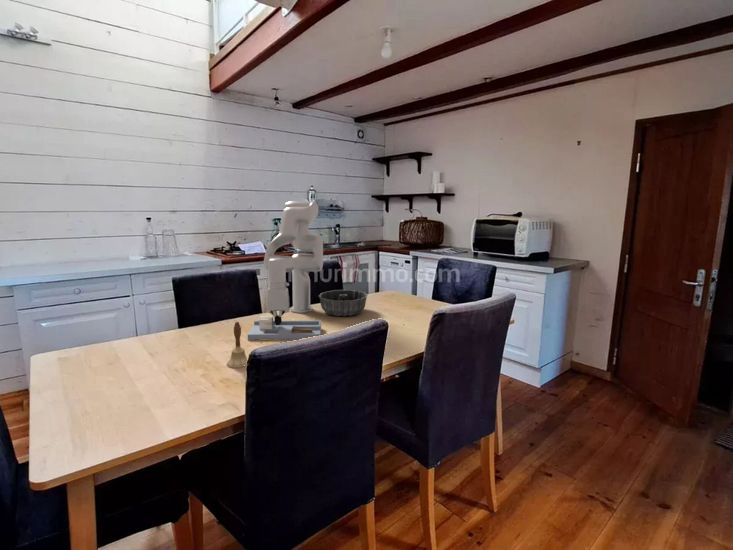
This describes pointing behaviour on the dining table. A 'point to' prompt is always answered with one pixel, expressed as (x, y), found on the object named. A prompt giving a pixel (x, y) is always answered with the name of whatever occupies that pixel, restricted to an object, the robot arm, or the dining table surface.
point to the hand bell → (237, 350)
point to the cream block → (266, 322)
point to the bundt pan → (343, 302)
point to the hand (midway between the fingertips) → (278, 324)
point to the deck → (285, 330)
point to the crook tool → (301, 330)
